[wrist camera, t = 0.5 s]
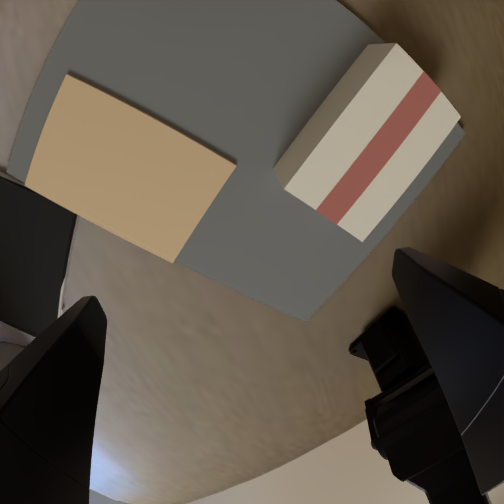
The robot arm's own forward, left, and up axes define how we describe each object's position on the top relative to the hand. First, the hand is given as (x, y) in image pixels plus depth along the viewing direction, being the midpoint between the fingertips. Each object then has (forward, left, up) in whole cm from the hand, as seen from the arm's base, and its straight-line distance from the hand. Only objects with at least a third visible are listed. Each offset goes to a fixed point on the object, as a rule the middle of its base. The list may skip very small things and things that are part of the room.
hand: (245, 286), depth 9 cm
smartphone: (+10, +15, -13) cm, 23 cm away
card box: (-5, -6, -12) cm, 14 cm away
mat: (+1, -2, -12) cm, 13 cm away
